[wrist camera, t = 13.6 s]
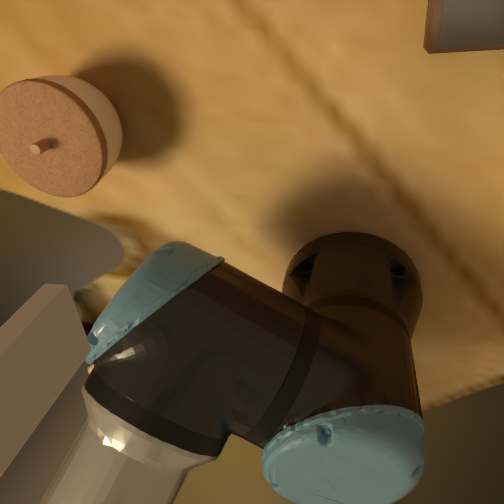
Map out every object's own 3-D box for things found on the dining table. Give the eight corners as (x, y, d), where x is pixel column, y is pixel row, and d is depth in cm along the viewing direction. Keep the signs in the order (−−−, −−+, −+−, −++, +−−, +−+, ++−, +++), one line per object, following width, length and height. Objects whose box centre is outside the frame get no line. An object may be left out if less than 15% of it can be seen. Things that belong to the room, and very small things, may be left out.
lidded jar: (42, 147, 48) (-19, 180, 41) (44, 47, 42) (-27, 64, 34) (132, 182, 48) (88, 222, 40) (146, 87, 42) (98, 113, 34)
